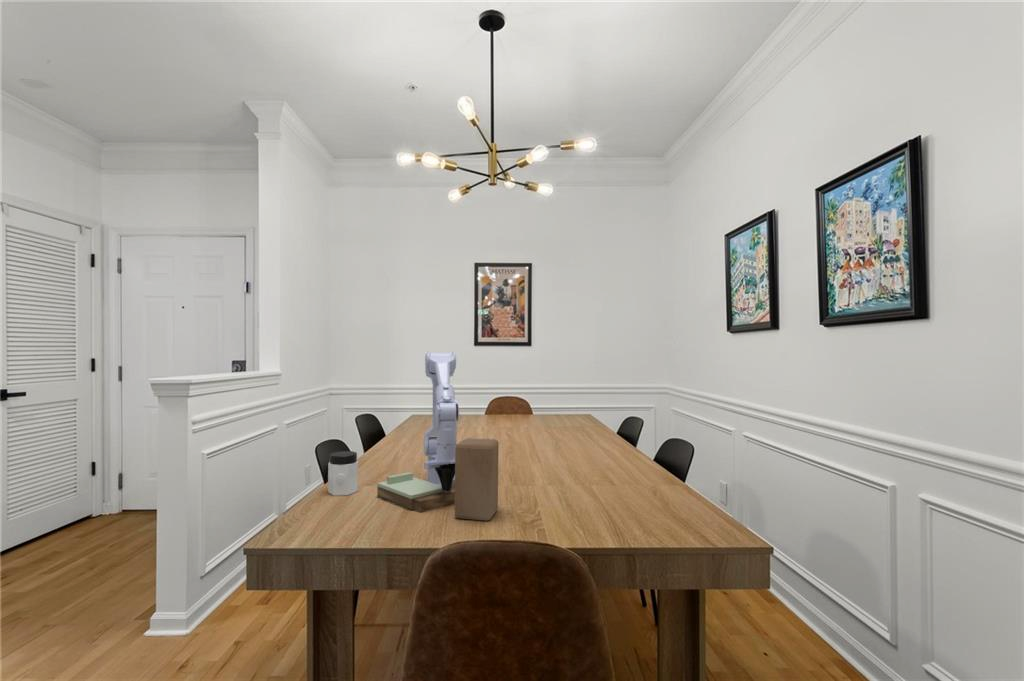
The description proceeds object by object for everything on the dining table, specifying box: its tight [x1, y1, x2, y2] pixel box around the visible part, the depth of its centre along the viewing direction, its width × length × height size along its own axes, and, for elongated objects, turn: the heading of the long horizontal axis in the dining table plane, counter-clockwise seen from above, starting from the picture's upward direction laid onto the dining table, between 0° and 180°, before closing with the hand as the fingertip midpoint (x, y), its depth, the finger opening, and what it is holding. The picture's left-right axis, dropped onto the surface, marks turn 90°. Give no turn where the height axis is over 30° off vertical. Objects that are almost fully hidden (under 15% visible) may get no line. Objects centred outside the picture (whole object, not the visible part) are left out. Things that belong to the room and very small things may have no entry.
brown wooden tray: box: [376, 486, 455, 513], centre depth 154 cm, size 18×21×3 cm
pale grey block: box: [448, 480, 455, 493], centre depth 151 cm, size 4×3×3 cm, turn 135°
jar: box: [327, 450, 359, 497], centre depth 160 cm, size 9×8×12 cm
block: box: [454, 437, 499, 522], centre depth 139 cm, size 10×10×20 cm
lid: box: [377, 471, 443, 499], centre depth 153 cm, size 12×18×3 cm, turn 45°
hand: (446, 490), depth 149 cm, fingers closed
